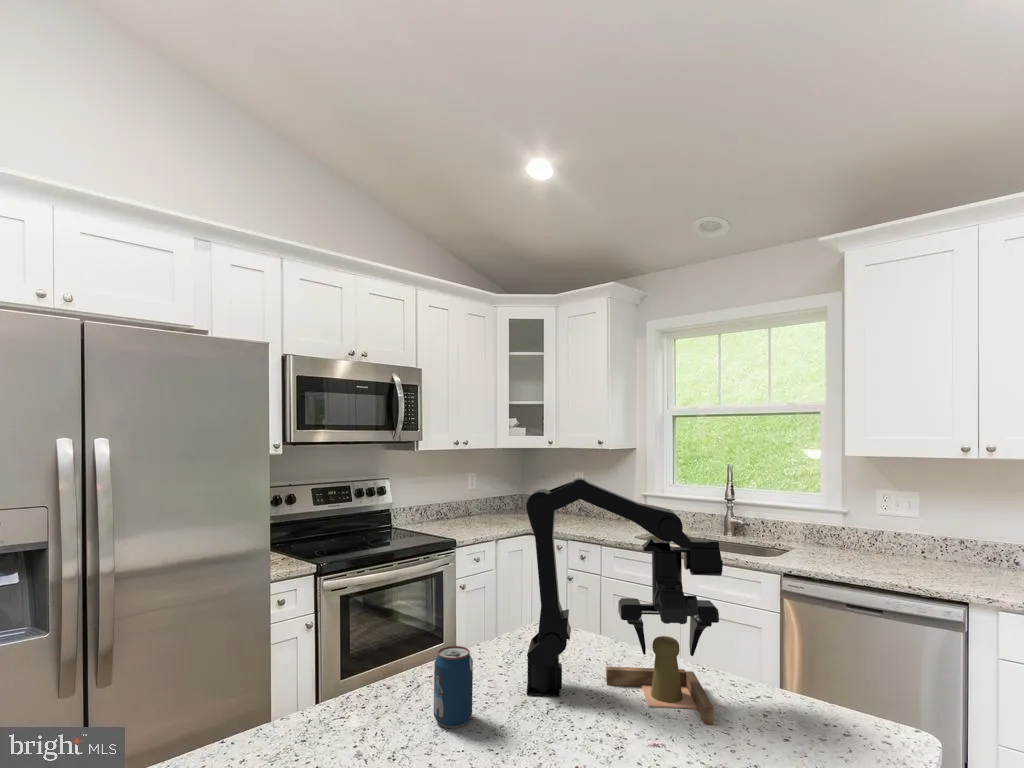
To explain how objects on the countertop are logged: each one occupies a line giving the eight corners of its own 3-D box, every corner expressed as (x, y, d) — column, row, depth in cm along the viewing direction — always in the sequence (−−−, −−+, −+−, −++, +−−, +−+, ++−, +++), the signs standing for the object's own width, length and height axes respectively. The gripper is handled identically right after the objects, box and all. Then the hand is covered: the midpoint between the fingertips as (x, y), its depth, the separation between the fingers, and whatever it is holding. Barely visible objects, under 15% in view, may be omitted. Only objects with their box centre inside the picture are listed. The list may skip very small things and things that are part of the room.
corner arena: (614, 720, 108) (614, 703, 108) (606, 681, 124) (606, 666, 125) (713, 724, 107) (713, 707, 107) (692, 684, 123) (692, 669, 123)
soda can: (477, 713, 110) (478, 646, 111) (464, 732, 103) (465, 660, 104) (442, 708, 112) (443, 643, 113) (427, 726, 105) (428, 656, 106)
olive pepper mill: (685, 703, 114) (684, 644, 115) (652, 702, 115) (652, 642, 115) (679, 689, 120) (678, 633, 121) (649, 688, 121) (648, 632, 121)
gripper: (624, 583, 112) (624, 669, 111) (726, 585, 110) (728, 673, 109) (617, 569, 123) (618, 647, 122) (710, 571, 121) (712, 650, 120)
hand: (667, 654), depth 118 cm, fingers open, 9 cm apart
